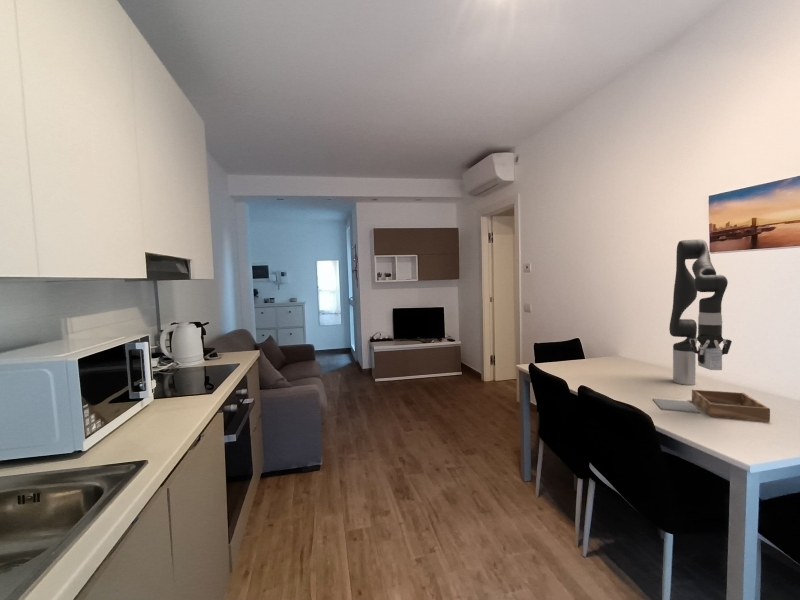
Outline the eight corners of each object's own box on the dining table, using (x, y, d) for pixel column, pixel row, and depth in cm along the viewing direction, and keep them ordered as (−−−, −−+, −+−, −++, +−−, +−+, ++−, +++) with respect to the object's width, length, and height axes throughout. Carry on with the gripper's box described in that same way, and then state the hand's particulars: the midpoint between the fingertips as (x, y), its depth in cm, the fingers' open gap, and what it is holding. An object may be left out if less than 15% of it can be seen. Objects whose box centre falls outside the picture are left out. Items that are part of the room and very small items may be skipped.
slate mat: (652, 399, 164) (652, 398, 164) (687, 402, 159) (687, 401, 159) (661, 409, 152) (661, 408, 152) (699, 412, 147) (699, 411, 147)
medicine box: (722, 370, 146) (722, 349, 146) (709, 370, 147) (710, 349, 146) (709, 365, 154) (709, 345, 153) (697, 365, 155) (697, 345, 154)
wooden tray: (691, 400, 162) (691, 389, 161) (743, 404, 155) (743, 392, 154) (710, 416, 143) (710, 404, 143) (769, 421, 136) (770, 408, 136)
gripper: (727, 322, 150) (726, 362, 151) (685, 322, 155) (685, 360, 156) (736, 324, 143) (735, 366, 144) (692, 324, 148) (692, 364, 149)
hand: (709, 363), depth 150 cm, fingers closed on medicine box, 5 cm apart
